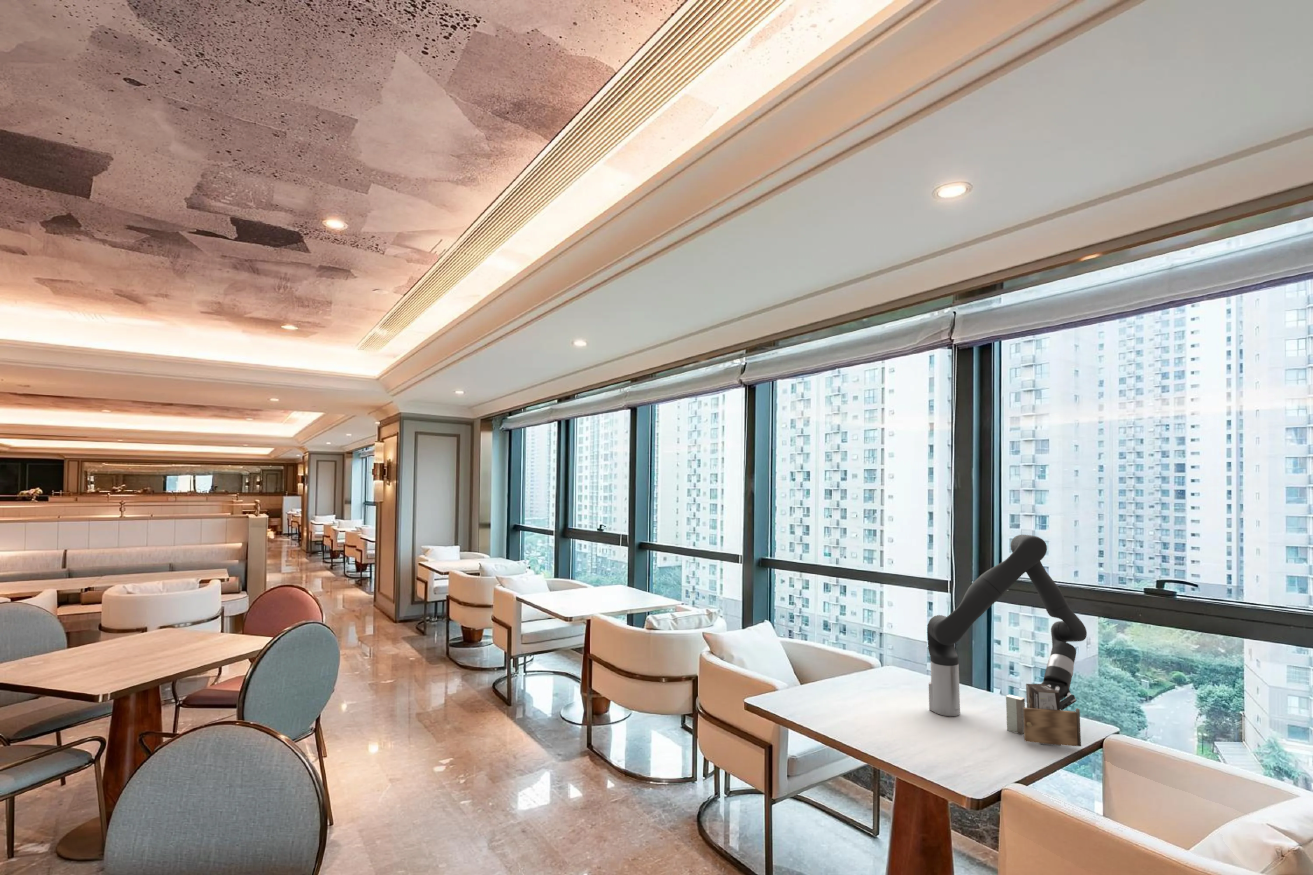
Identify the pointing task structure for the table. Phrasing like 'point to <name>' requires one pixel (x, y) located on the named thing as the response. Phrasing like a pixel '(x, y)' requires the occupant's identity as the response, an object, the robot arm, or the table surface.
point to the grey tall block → (1015, 714)
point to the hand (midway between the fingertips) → (1048, 717)
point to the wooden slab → (1052, 726)
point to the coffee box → (1042, 698)
